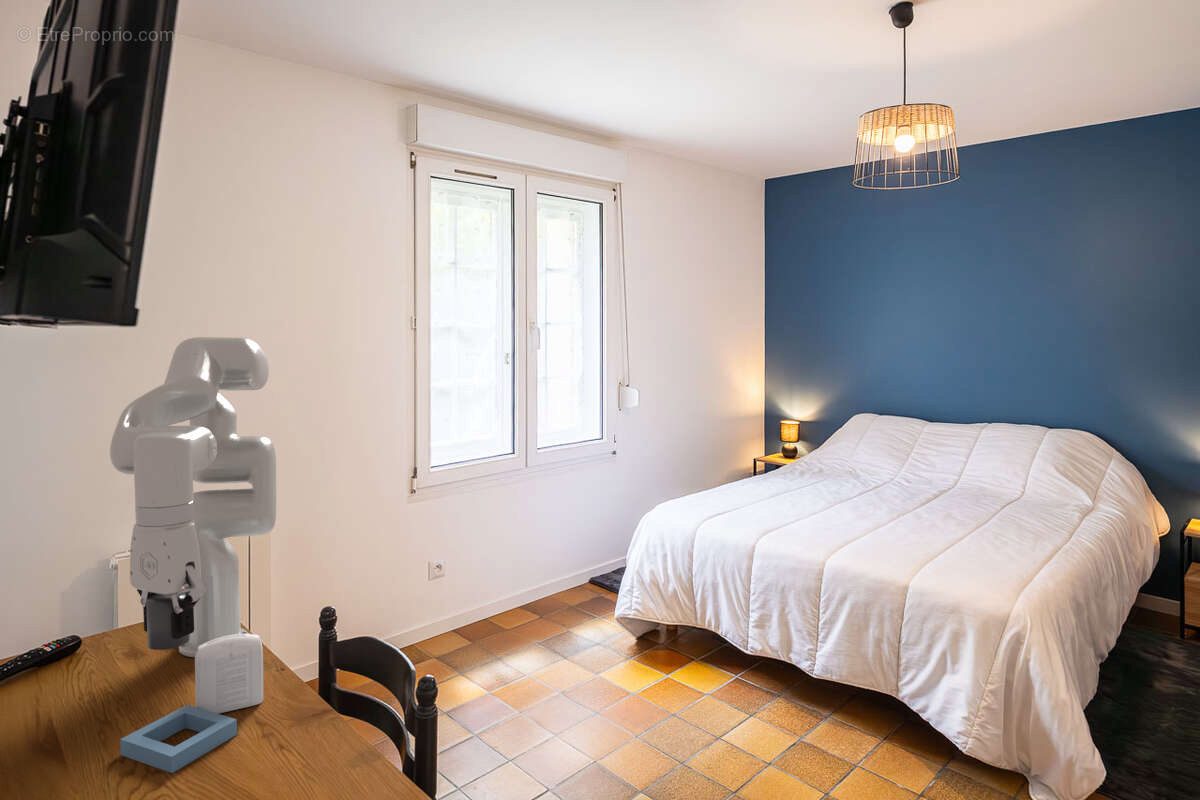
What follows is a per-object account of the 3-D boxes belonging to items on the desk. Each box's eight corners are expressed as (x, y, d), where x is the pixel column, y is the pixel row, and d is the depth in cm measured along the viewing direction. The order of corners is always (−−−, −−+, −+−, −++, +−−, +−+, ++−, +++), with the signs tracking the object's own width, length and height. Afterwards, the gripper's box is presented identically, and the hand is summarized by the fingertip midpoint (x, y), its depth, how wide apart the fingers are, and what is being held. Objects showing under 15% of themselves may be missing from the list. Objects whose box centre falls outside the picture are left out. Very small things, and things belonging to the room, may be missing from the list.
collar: (120, 755, 108) (120, 739, 107) (187, 719, 118) (187, 704, 117) (172, 773, 103) (171, 756, 103) (237, 734, 114) (236, 719, 113)
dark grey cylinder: (139, 645, 108) (137, 600, 107) (173, 632, 113) (172, 589, 112) (164, 652, 106) (162, 606, 105) (198, 638, 111) (196, 594, 110)
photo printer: (261, 693, 126) (260, 625, 125) (265, 704, 123) (264, 634, 122) (194, 709, 121) (192, 638, 120) (197, 721, 117) (194, 648, 116)
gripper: (102, 513, 108) (107, 631, 109) (181, 526, 101) (185, 651, 102) (151, 504, 115) (155, 614, 116) (227, 515, 108) (231, 632, 109)
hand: (169, 630), depth 109 cm, fingers closed on dark grey cylinder, 5 cm apart
